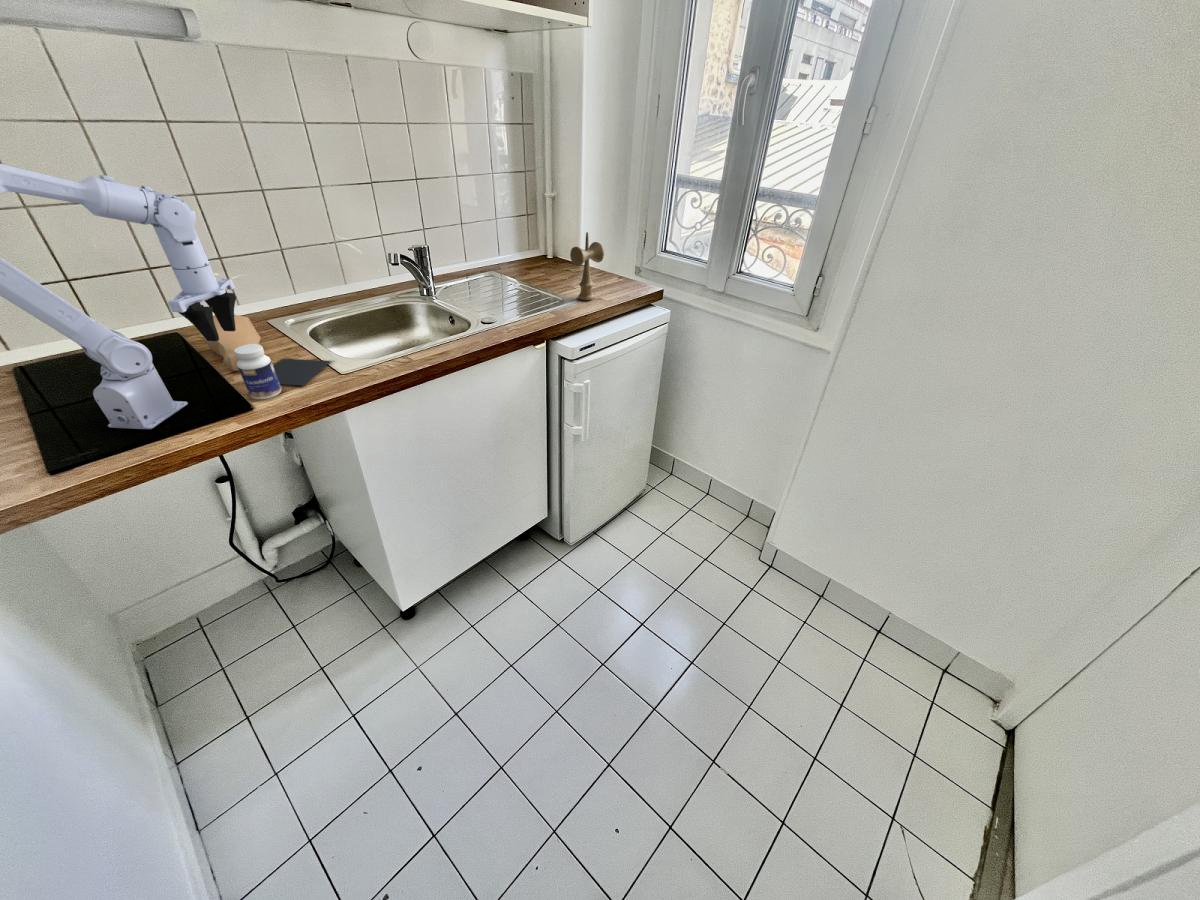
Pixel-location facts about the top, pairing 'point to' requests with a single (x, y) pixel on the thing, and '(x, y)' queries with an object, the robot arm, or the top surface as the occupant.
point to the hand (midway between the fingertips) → (221, 335)
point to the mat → (297, 371)
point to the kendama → (586, 265)
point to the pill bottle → (257, 371)
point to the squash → (233, 340)
